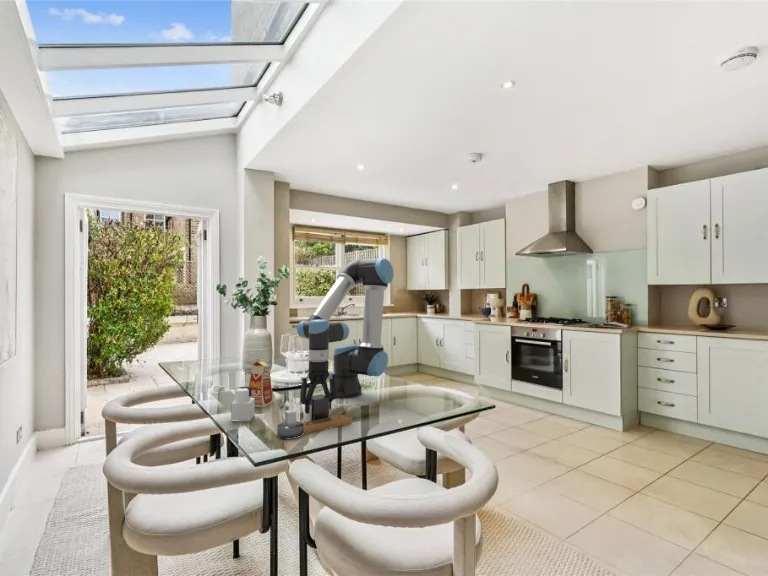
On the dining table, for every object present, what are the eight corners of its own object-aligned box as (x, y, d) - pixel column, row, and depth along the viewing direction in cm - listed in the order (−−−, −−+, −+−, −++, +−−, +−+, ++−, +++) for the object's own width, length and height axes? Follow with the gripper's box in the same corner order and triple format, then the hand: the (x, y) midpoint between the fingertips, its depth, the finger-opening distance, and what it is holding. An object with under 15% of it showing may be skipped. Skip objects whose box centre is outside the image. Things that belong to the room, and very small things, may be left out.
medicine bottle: (236, 415, 160) (236, 385, 160) (254, 415, 161) (254, 385, 161) (230, 421, 153) (231, 390, 153) (250, 421, 154) (250, 390, 154)
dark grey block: (322, 416, 160) (322, 393, 160) (328, 421, 155) (328, 397, 155) (307, 419, 157) (308, 396, 157) (314, 423, 152) (314, 400, 152)
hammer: (343, 418, 158) (343, 398, 158) (354, 425, 150) (354, 404, 150) (273, 432, 143) (273, 409, 143) (282, 441, 135) (282, 417, 135)
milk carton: (264, 407, 171) (264, 360, 171) (244, 405, 173) (244, 359, 173) (274, 401, 180) (274, 356, 180) (255, 399, 182) (255, 355, 182)
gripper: (298, 364, 147) (297, 427, 147) (345, 359, 158) (345, 418, 158) (290, 360, 153) (290, 421, 154) (337, 356, 164) (336, 412, 164)
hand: (318, 419), depth 156 cm, fingers open, 7 cm apart
